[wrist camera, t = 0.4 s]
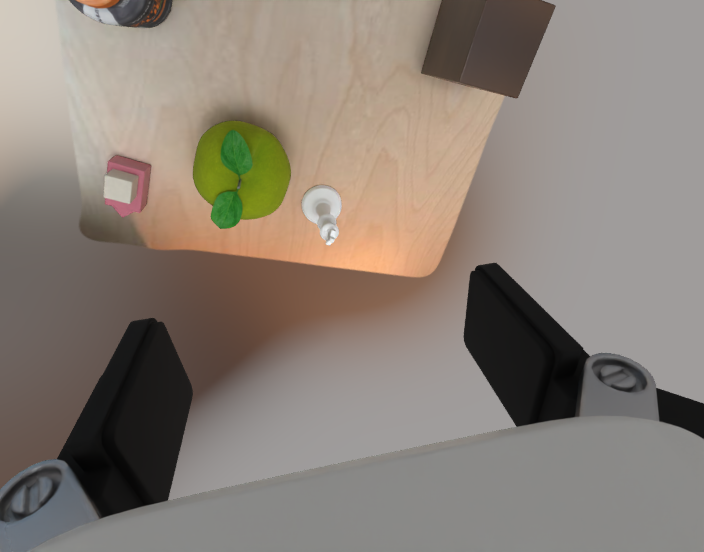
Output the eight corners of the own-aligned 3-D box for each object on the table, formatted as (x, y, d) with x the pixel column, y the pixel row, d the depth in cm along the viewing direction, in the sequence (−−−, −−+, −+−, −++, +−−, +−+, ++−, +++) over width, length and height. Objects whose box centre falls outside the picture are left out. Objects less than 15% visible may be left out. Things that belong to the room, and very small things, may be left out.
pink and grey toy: (116, 154, 40) (98, 167, 36) (151, 165, 41) (138, 178, 37) (112, 205, 42) (95, 222, 38) (145, 214, 43) (132, 231, 39)
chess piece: (347, 192, 46) (363, 226, 38) (333, 227, 48) (345, 266, 40) (309, 179, 44) (316, 211, 36) (296, 216, 47) (300, 255, 38)
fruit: (195, 184, 42) (175, 220, 34) (212, 100, 38) (195, 117, 30) (274, 208, 46) (274, 246, 37) (298, 133, 41) (304, 157, 33)
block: (443, -6, 37) (492, -19, 29) (495, 12, 39) (556, 5, 30) (420, 73, 40) (458, 82, 32) (469, 86, 42) (517, 98, 34)
